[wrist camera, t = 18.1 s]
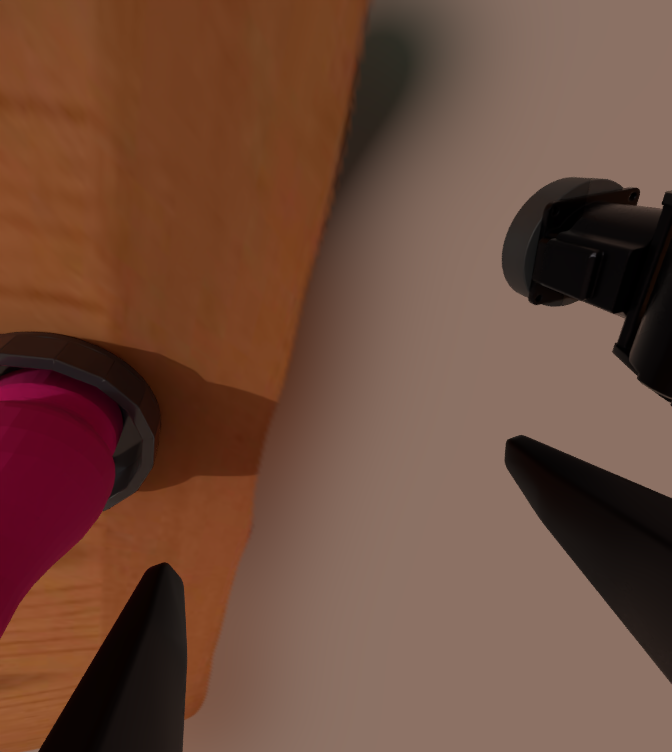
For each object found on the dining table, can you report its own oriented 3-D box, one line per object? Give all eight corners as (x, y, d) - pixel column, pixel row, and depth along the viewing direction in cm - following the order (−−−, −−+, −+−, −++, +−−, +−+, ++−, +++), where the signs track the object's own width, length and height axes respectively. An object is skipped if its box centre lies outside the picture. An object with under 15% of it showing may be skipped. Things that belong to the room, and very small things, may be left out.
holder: (115, 311, 18) (100, 332, 16) (185, 460, 23) (181, 490, 21) (-126, 358, 16) (-178, 387, 14) (10, 505, 22) (-13, 542, 20)
